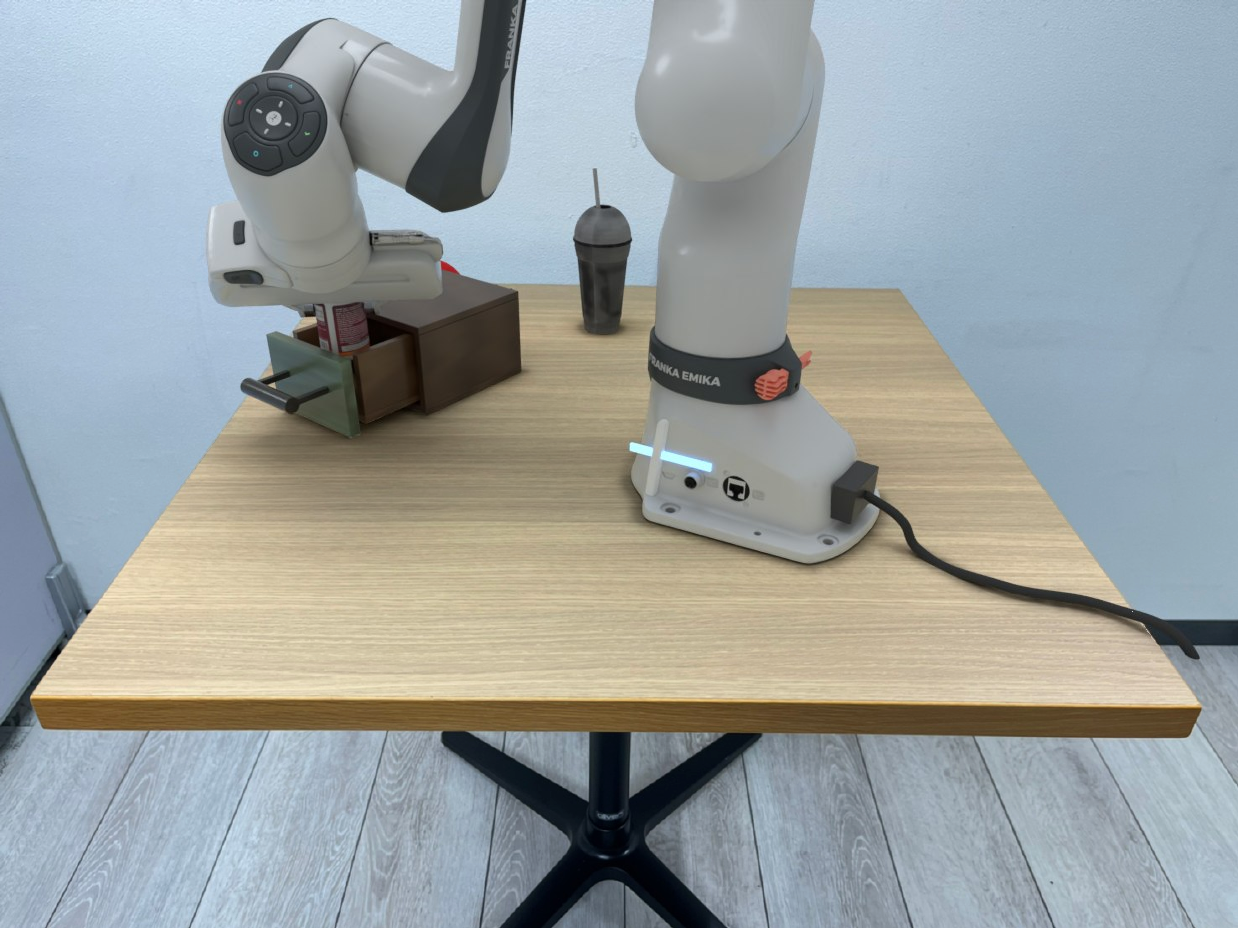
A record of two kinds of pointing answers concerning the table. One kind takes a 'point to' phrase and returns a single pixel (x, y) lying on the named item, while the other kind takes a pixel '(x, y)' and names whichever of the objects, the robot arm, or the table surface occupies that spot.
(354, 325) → the pill bottle
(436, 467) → the table surface
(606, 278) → the beverage cup
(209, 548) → the table surface
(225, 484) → the table surface
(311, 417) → the drawer
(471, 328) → the cabinet
